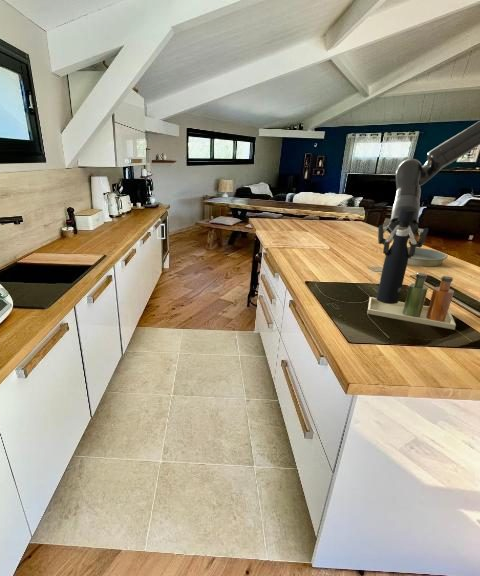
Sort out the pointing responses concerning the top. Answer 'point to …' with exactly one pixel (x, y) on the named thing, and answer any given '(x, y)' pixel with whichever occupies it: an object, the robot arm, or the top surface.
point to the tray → (396, 313)
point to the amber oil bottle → (440, 300)
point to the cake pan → (426, 257)
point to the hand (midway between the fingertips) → (398, 255)
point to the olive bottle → (415, 296)
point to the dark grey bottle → (395, 262)
